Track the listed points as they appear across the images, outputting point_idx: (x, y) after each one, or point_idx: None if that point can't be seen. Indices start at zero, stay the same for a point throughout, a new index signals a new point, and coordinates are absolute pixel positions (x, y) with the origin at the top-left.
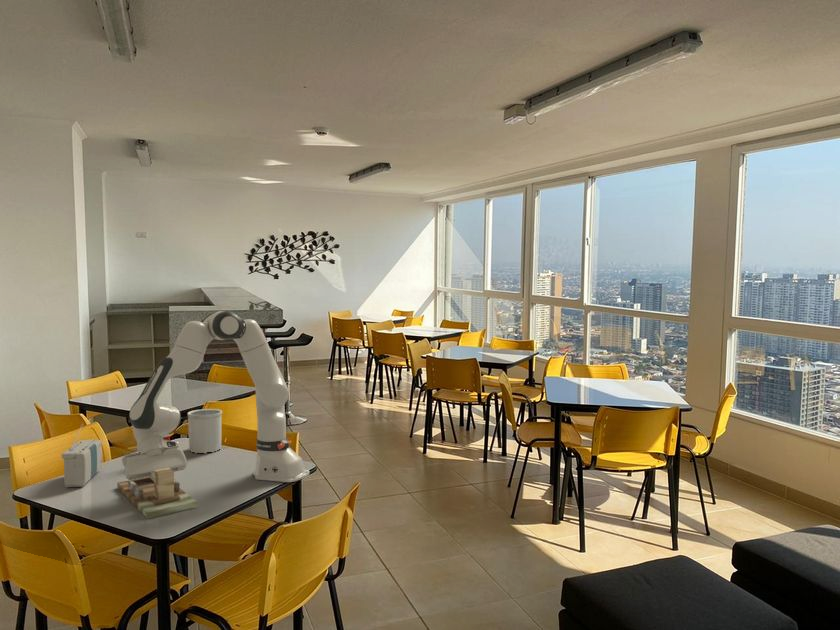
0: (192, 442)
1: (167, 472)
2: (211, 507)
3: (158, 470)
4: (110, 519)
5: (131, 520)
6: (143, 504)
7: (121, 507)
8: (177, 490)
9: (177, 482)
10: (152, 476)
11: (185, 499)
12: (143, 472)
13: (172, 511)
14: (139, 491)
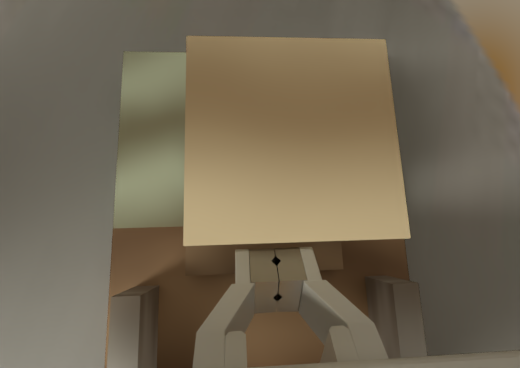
0: None
1: (272, 39)
2: (80, 27)
3: (357, 184)
4: (511, 163)
5: (431, 95)
6: None
7: (455, 303)
8: (146, 287)
9: (116, 326)
10: (363, 316)
11: (162, 117)
12: (505, 355)
13: None
14: (416, 284)
